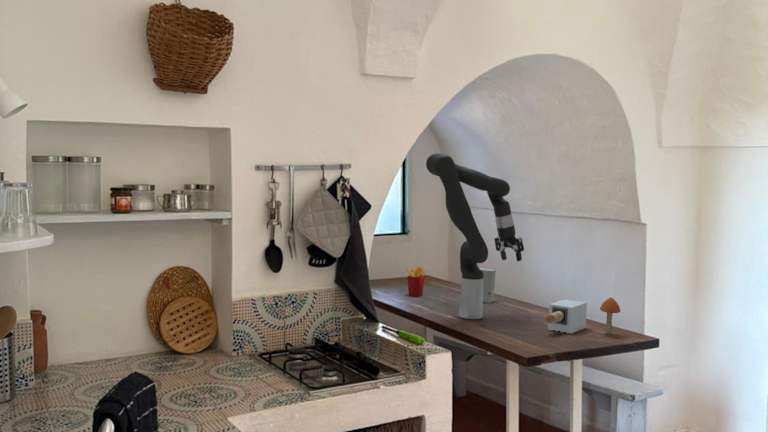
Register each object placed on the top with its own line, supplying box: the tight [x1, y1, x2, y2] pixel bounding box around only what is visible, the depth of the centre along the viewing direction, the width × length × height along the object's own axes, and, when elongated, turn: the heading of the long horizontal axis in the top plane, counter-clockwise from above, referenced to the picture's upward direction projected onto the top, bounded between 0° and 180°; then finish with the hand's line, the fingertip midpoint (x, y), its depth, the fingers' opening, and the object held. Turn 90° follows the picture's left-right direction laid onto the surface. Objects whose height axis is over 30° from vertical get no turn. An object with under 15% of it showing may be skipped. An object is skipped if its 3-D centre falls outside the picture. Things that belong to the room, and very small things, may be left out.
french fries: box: [406, 265, 427, 298], centre depth 377 cm, size 9×8×15 cm
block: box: [547, 299, 588, 334], centre depth 311 cm, size 15×10×10 cm
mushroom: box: [599, 297, 621, 336], centre depth 302 cm, size 8×8×15 cm
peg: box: [545, 310, 565, 325], centre depth 303 cm, size 12×4×4 cm, turn 141°
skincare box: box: [478, 267, 496, 304], centre depth 366 cm, size 8×7×16 cm
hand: (511, 260), depth 334 cm, fingers open, 8 cm apart
